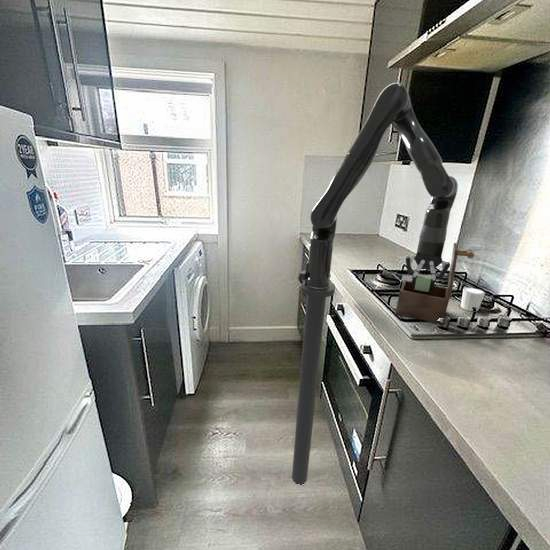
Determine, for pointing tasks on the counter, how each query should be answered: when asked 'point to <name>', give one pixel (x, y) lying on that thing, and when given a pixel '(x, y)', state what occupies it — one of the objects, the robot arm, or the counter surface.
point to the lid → (456, 252)
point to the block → (423, 283)
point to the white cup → (471, 298)
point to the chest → (422, 303)
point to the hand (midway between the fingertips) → (421, 288)
